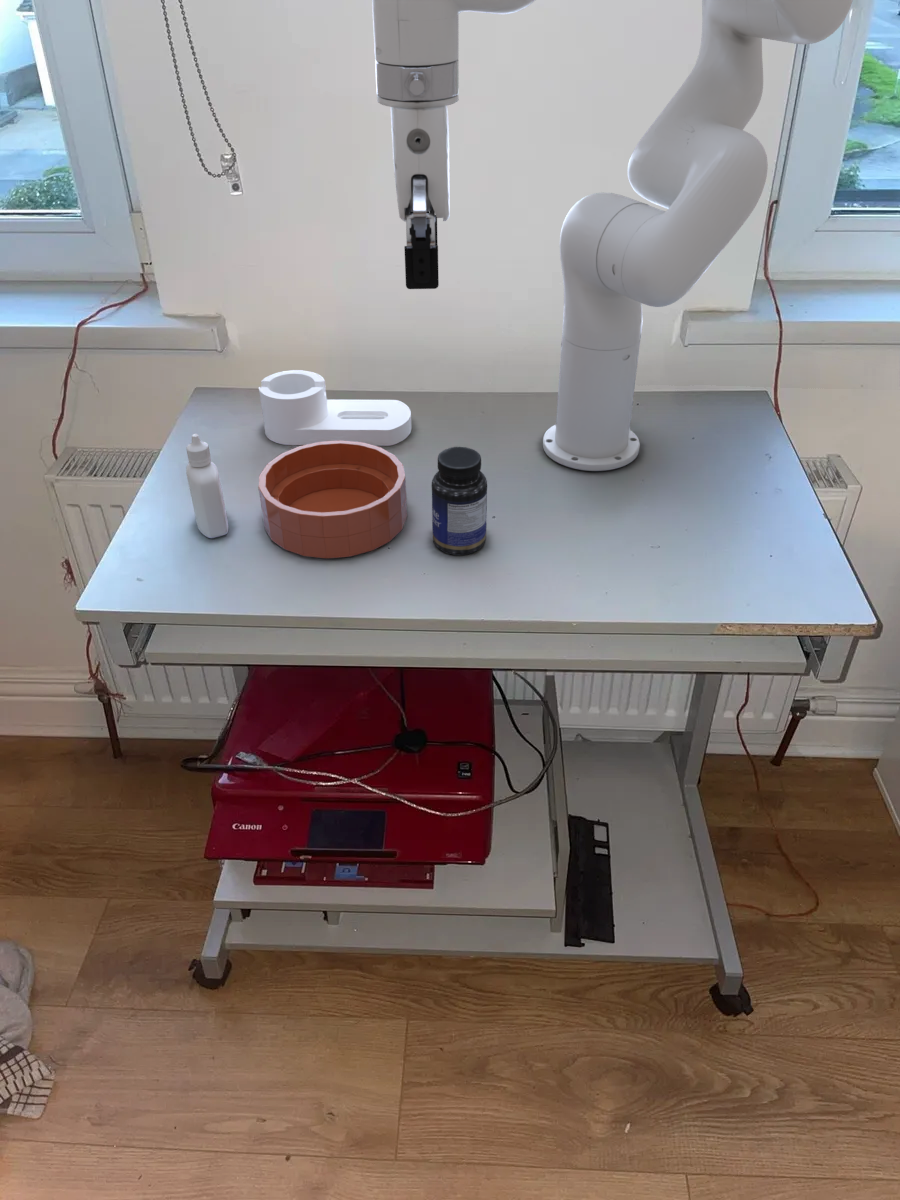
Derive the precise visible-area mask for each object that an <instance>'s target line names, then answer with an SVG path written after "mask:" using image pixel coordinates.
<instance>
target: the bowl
mask: <svg viewBox="0 0 900 1200" xmlns="http://www.w3.org/2000/svg"><path fill="white" fill-rule="evenodd" d="M405 472H406V471H405V466H404V464H403V462H401V461H400V459H398V457H397V456H396V455H395V454H393V453H392V452H390V451H388V450H387V449H385V448H383V447H382V446H374V445H371V444H367V443H363V442H353V441H341V440H338V441H323V442H316V443H312V444H307V445H298V446H296V447H294V448H292V449H289V450H286V451H284V452H282V453H280V454H278V455H277V456H275V457H274V458H273V459H272V460H270V461H269V462H268V463H266V465H265V466H264V468H263V469H262V471H261V472H260V474H259V475H258V487H257V488H258V494H259V500H260V506H261V512H262V513H261V514H262V520H263V526H264V529H265V532H266V533H267V535H268V536H269V538H270V540H271V541H272V542H273V543H275V544H276V545H277V546H279V547H281V548H282V549H284V550H285V551H288V552H291V553H294V554H297V555H299V556H303V557H308V558H318V559H335V558H336V559H337V558H350V557H353V556H357V555H362V554H364V553H368V552H372V551H374V550H376V549H378V548H380V547H382V546H384V545H386V544H388V543H389V542H391V541H392V540H393V539H394V538H395V537H396V536H397V535H399V533H401V532H402V530H403V528H404V526H405V524H406V522H407V519H408V506H407V504H408V503H407V485H406V481H407V480H406V473H405Z"/></svg>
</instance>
